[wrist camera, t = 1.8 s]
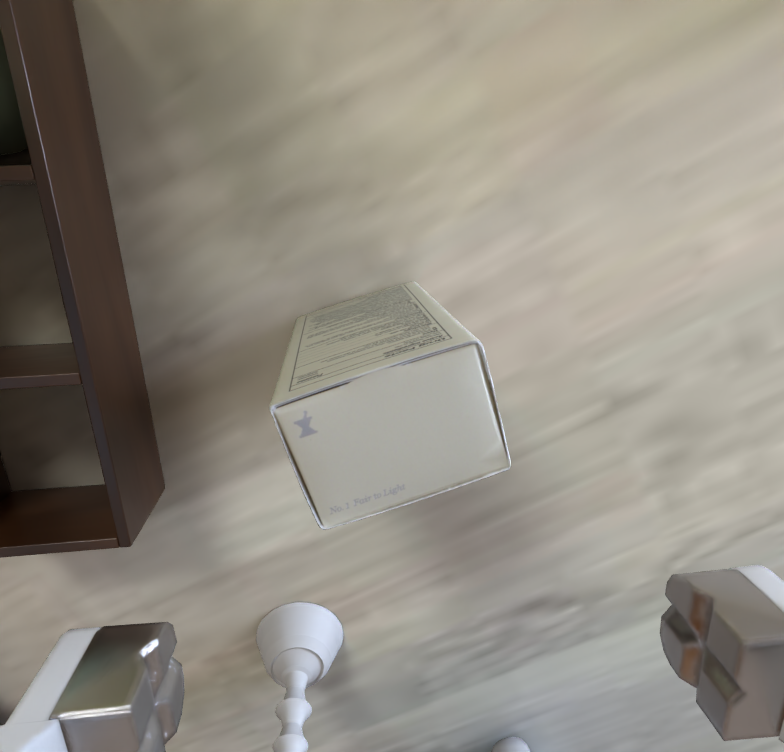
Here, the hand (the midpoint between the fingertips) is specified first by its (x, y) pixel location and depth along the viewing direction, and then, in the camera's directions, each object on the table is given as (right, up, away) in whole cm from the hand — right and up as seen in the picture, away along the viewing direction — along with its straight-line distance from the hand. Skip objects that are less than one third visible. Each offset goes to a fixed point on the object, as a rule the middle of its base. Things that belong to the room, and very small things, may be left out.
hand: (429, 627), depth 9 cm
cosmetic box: (-2, +6, +18) cm, 19 cm away
